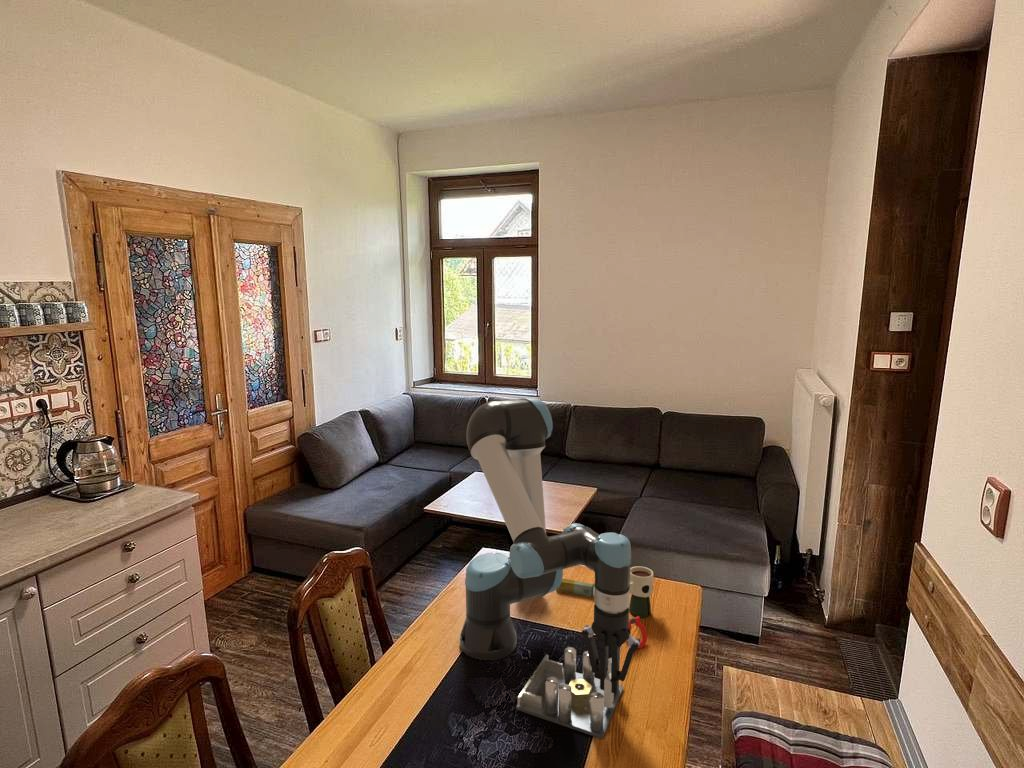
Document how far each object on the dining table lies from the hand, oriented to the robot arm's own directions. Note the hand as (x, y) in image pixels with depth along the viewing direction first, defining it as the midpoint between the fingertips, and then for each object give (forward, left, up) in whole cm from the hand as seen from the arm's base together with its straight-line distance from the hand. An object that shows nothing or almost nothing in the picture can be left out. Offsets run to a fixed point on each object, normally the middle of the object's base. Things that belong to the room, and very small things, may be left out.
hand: (608, 703), depth 125 cm
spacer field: (-9, 0, -2) cm, 9 cm away
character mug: (-3, +43, -2) cm, 43 cm away
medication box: (-24, +45, -2) cm, 51 cm away
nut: (-7, 0, -1) cm, 7 cm away
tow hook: (-2, +28, -4) cm, 28 cm away
